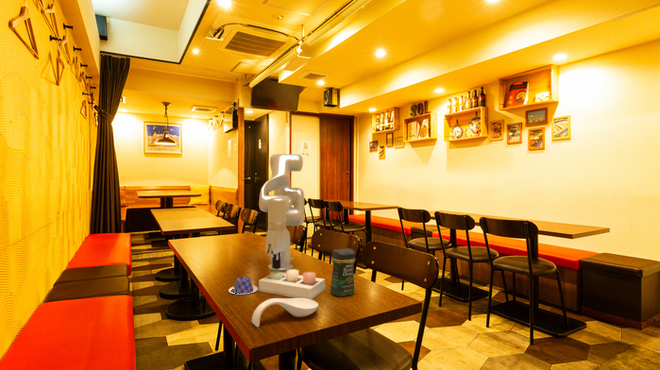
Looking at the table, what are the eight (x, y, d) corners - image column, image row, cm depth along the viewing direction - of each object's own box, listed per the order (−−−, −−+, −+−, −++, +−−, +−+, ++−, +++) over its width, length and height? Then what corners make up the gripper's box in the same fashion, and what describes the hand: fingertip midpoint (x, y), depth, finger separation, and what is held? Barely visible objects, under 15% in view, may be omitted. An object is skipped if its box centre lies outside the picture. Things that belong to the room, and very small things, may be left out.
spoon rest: (306, 304, 127) (306, 286, 127) (324, 315, 118) (325, 295, 118) (247, 320, 113) (247, 298, 113) (262, 333, 104) (262, 310, 104)
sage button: (274, 281, 149) (274, 270, 149) (284, 283, 147) (284, 272, 147) (267, 285, 144) (267, 273, 144) (277, 287, 142) (278, 275, 142)
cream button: (290, 280, 146) (290, 268, 145) (300, 281, 143) (300, 270, 143) (283, 283, 141) (283, 271, 141) (294, 285, 139) (294, 273, 139)
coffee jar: (337, 298, 134) (338, 252, 133) (327, 292, 141) (328, 248, 140) (357, 294, 138) (358, 249, 138) (347, 288, 145) (348, 246, 145)
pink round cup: (306, 282, 142) (306, 271, 142) (317, 284, 140) (317, 272, 140) (300, 286, 138) (300, 274, 137) (312, 288, 135) (312, 276, 135)
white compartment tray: (276, 281, 153) (277, 271, 153) (324, 289, 144) (325, 279, 144) (258, 290, 141) (258, 280, 140) (310, 300, 131) (310, 289, 131)
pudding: (229, 287, 145) (229, 275, 145) (257, 285, 148) (257, 273, 148) (227, 297, 134) (227, 284, 133) (258, 295, 137) (258, 282, 136)
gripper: (278, 222, 153) (278, 262, 154) (259, 228, 139) (258, 271, 141) (293, 224, 150) (292, 264, 151) (274, 230, 136) (274, 274, 138)
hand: (276, 268), depth 146 cm, fingers closed
